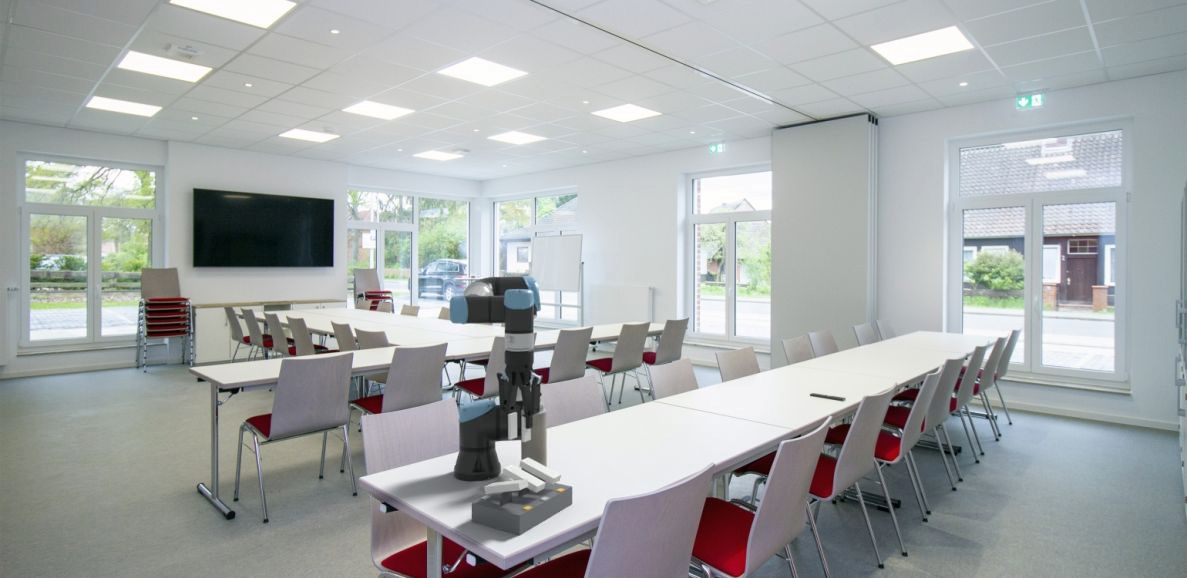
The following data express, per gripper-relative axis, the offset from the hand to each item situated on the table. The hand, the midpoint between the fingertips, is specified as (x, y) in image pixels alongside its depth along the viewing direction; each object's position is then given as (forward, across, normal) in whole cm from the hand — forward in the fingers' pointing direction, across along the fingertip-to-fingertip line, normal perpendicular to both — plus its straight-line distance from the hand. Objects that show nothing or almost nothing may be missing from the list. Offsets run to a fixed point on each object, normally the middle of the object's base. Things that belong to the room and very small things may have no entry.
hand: (519, 439), depth 157 cm
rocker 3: (+13, -4, +15) cm, 20 cm away
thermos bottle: (+23, -18, +30) cm, 41 cm away
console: (+23, -4, +8) cm, 24 cm away
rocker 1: (+13, -4, 0) cm, 14 cm away
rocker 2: (+13, -4, +8) cm, 16 cm away
